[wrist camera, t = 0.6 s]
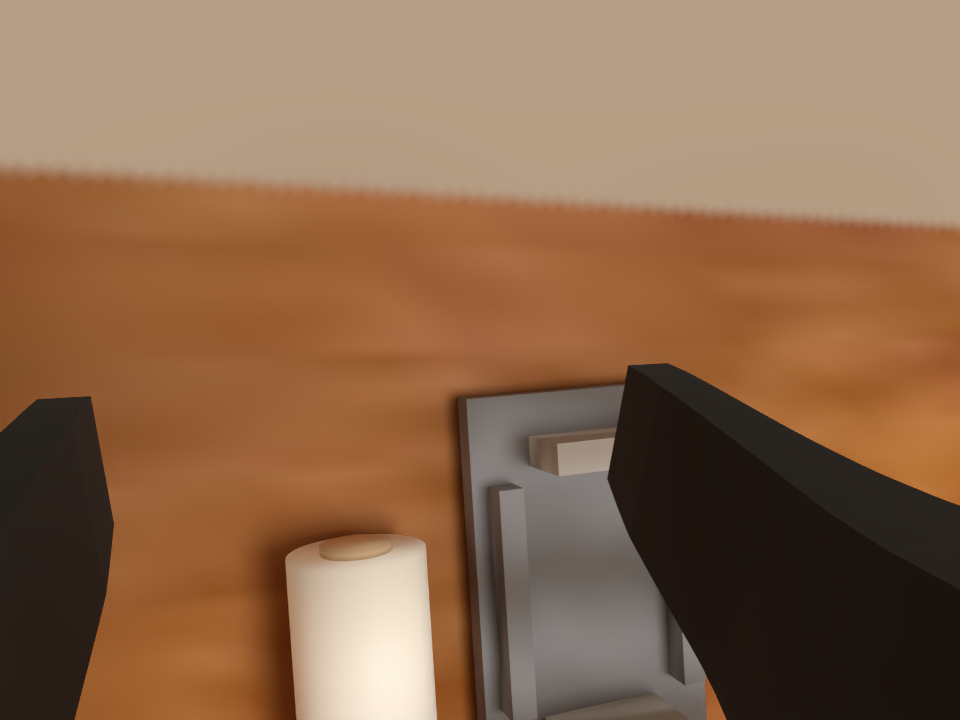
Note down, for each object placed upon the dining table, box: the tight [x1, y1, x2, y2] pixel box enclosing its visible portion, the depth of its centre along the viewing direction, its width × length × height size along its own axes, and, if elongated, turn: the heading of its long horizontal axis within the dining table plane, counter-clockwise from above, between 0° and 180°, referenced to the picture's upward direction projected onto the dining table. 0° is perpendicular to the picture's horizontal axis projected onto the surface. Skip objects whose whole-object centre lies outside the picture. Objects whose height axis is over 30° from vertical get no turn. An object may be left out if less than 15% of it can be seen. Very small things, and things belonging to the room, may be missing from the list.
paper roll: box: [285, 534, 437, 720], centre depth 30 cm, size 9×5×5 cm, turn 3°
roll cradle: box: [457, 383, 707, 720], centre depth 34 cm, size 16×10×4 cm, turn 4°
